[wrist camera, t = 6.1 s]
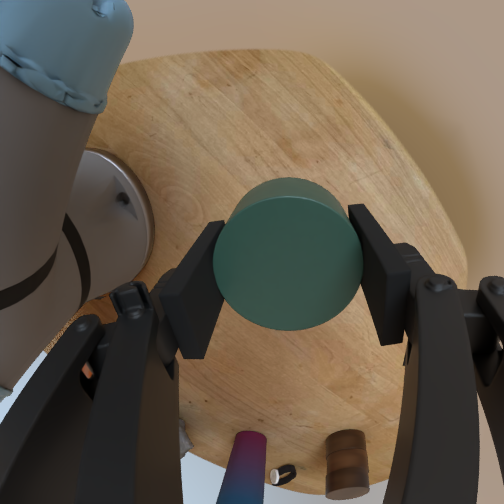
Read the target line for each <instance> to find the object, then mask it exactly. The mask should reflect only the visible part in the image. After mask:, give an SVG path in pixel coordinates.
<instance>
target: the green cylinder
mask: <svg viewBox="0 0 504 504" xmlns="http://www.w3.org/2000/svg"><path fill="white" fill-rule="evenodd" d="M213 271H214V275H215V279H216V283H217V286H218V288H219V290H220V292H221V294H222V296H223V297H224V299H225V300H226V302H227V303H228V304H229V305H230V306H231V307H232V308H233V309H234V310H235V311H236V312H237V313H238V314H240V315H241V316H243V317H244V318H245V319H247V320H249V321H251V322H253V323H255V324H257V325H260V326H263V327H266V328H270V329H275V330H284V331H294V330H303V329H308V328H312V327H315V326H318V325H320V324H323V323H325V322H327V321H329V320H330V319H332V318H333V317H335V316H336V315H338V314H339V313H340V312H341V311H343V310H344V309H345V307H346V306H347V305H348V304H349V303H350V302H351V300H352V299H353V298H354V296H355V294H356V292H357V290H358V288H359V286H360V283H361V280H362V276H363V250H362V246H361V243H360V241H359V238H358V236H357V234H356V232H355V230H354V228H353V226H352V224H351V222H350V220H349V219H348V217H347V215H346V213H345V211H344V209H343V208H342V206H341V204H340V203H339V201H338V200H337V199H336V198H335V197H334V196H333V195H332V194H331V193H330V192H329V191H328V190H326V189H325V188H323V187H322V186H320V185H318V184H316V183H314V182H311V181H308V180H305V179H300V178H291V177H287V178H278V179H273V180H269V181H267V182H264V183H262V184H260V185H258V186H256V187H255V188H253V189H252V190H250V191H249V192H248V193H247V194H246V195H245V196H244V197H243V198H242V199H241V200H240V202H239V203H238V205H237V206H236V208H235V209H234V211H233V213H232V214H231V216H230V218H229V219H228V221H227V223H226V224H225V226H224V228H223V229H222V231H221V233H220V235H219V237H218V239H217V242H216V245H215V248H214V253H213Z"/></svg>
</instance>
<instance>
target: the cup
mask: <svg viewBox="0 0 504 504" xmlns="http://www.w3.org/2000/svg"><path fill="white" fill-rule="evenodd" d="M266 443H267V439H266V437H265V436H264V435H263V434H261V433H258V432H254V431H242V432H239V433H237V435H236V437H235V441H234V444H233V448H232V451H231V455H230V458H229V462H228V465H227V469H226V472H225V476H224V479H223V482H222V486H221V489H220V492H219V496H218V499H217V502H216V504H263V499H264V481H265V463H266Z"/></svg>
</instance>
